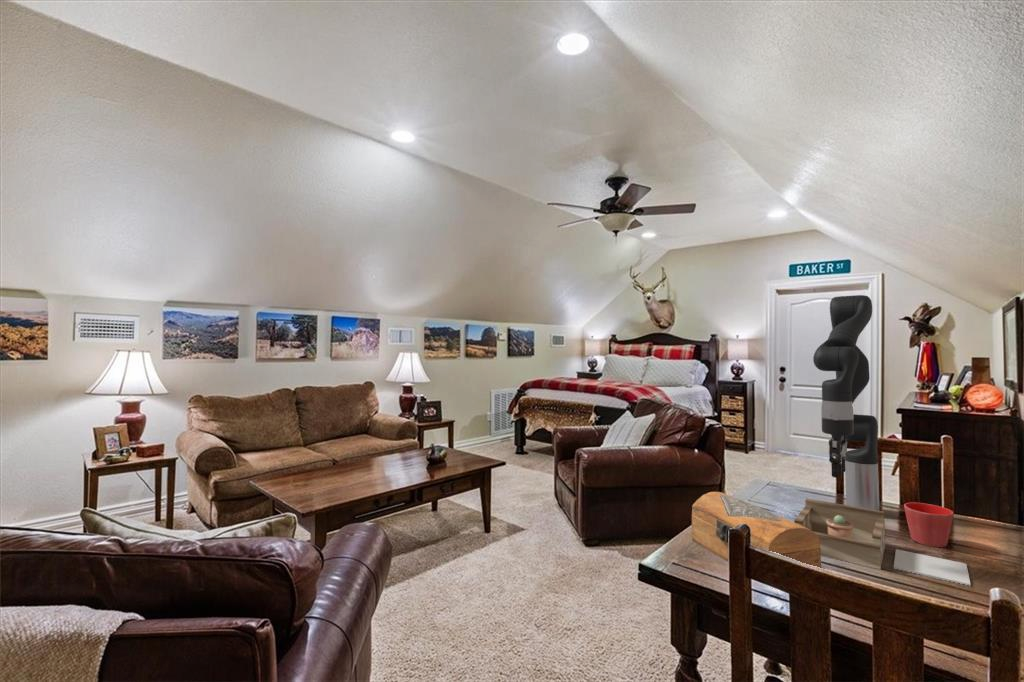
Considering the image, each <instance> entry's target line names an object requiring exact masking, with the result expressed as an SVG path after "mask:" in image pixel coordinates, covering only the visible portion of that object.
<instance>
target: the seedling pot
mask: <svg viewBox="0 0 1024 682" xmlns="http://www.w3.org/2000/svg"><path fill="white" fill-rule="evenodd" d="M826 525H827V526H828V534H829V535H834V536H839V537H844V538H849V539H852V529H853V524H852V523H850V522H848V521H845V519H844V518H843V517H842V516H840V515H837V516H835V517H834V519H827V520H826Z"/></svg>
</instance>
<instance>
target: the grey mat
mask: <svg viewBox="0 0 1024 682" xmlns="http://www.w3.org/2000/svg"><path fill="white" fill-rule="evenodd" d="M893 569H894V570H897V569H898V570H897V571H901V570H902V571H901V572H905V571H906V572H905V573H910V572H912V573H911V574H914V573H916V574H915V575H919V574H920V575H919V576H924V577H927V578H932V579H937V580H940V579H941V581H945V580H946V582H949V581H951V582H950V583H953V582H955V583H954V584H958V583H960V584H959V585H962V584H965V585H964V586H967V585H969V586H968V587H971V580H970V575H969V571H968V567H967V563H964V562H959V561H956V560H955V561H954V560H951V559H950V560H949V559H947V558H946V559H945V558H941V557H936V556H930V555H926V554H921V553H917V552H916V553H915V552H910V551H907V550H901V549H897V548H896V549H895V555H894V562H893Z"/></svg>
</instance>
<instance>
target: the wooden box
mask: <svg viewBox="0 0 1024 682" xmlns="http://www.w3.org/2000/svg"><path fill="white" fill-rule="evenodd" d="M740 524H747V525H748V526H749V527H750V529H751V545H752V546H753V547H756V548H760V549H765V550H768V551H772V552H776V553H779V554H781V555H783V556H786V557H789V558H792V559H795V560H797V561H800V562H802V563H806V564H809V565H813V566H817V567H820V568H821V569H822V556H821V549H820V539H819V537H818V536H817V535H816V534H815V533H814V532H813V531H811V530H810V529H808V528H806V527H803V526H801V525H799V524H796V523H794V522H793V521H792V520H789V519H786V518H783V517H782V516H780V515H777V514H775V513H773V512H772V511H769V510H767V509H764V508H762V507H759V506H758V505H754V504H752V503H750V502H748V501H744V500H742V499H738V498H736V497H734V496H732V495H729V494H727V493H724V492H722V491H721V492H720V491H710V492H707V493H704V494H702V495H701V496H700V497H699V498H697V499H696V501H695V502H694V503H693V504H692V506H691V540H692V541H693V543H695V544H697V545H699V546H701V547H702V548H704V549H706V550H707V551H709V552H711V553H712V554H714V555H715V556H717V557H719V558H721V559H722V560H724V561H726V562H728V531H729V529H730V528H733V527H735V526H737V525H740ZM728 563H729V562H728Z"/></svg>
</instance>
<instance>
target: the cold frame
mask: <svg viewBox="0 0 1024 682" xmlns="http://www.w3.org/2000/svg"><path fill="white" fill-rule="evenodd" d="M804 502H805V505H804V506H803V508H802V509H801V511H800V512H799V513H798V514H797V516H796V517H795V519H794V523H796V524H799V525H801V526H803V527H806V528H808V529H810V530H811V531H813V532H814V533H815V534H816V535H817V536H818V537H819V539H820V549H821V557H826V558H830V559H834V560H839V561H843V562H847V563H852V564H855V565H861V566H864V567H869V568H873V569H877V570H881V569H882V564H883V559H884V555H885V548H886V538H885V537H886V533H885V532H886V531H885V527H886V526H885V521H886V520H885V511H883V510H879V511H878V510H872V509H866V508H860V507H854V506H848V505H846V504H841V503H837V502H836V503H835V502H830V501H823V500H818V499H810V498H807V497H806V498H805V500H804ZM837 515H840V516H842V517H843V518H844V519H845V521H848V522H850V523H852V524H853V529H852V539H849V538H844V537H839V536H834V535H829V534H828V526H827V525H826V520H827V519H834V517H835V516H837Z"/></svg>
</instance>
